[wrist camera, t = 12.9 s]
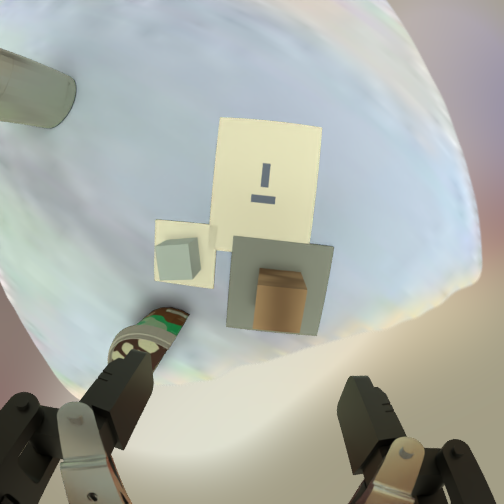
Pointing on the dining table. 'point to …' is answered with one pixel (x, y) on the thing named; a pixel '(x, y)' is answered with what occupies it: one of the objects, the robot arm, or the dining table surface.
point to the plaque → (207, 256)
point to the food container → (149, 335)
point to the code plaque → (263, 181)
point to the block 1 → (178, 259)
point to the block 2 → (279, 301)
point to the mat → (279, 258)
